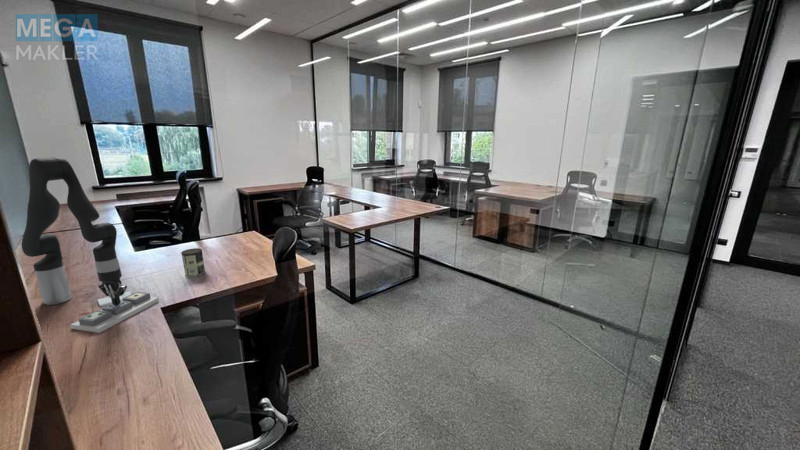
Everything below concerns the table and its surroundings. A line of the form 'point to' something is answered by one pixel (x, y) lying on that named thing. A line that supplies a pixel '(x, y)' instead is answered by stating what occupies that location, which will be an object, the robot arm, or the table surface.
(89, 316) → the button two
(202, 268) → the coffee can
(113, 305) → the button three
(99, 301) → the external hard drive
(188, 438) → the table surface
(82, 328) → the button panel
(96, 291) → the table surface
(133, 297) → the button one
